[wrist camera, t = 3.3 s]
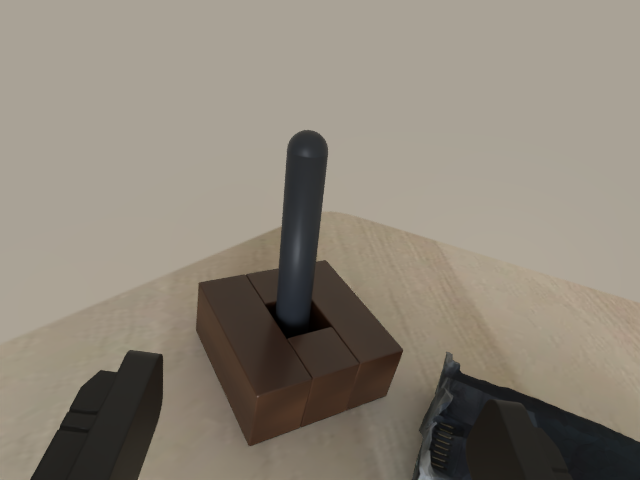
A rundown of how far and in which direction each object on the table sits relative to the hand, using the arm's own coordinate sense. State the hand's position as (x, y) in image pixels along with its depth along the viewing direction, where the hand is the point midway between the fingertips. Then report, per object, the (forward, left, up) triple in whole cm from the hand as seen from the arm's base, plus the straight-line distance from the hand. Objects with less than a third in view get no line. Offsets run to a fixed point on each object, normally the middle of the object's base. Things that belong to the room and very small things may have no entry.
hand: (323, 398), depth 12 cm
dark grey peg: (+5, +10, -10) cm, 15 cm away
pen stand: (+5, +10, -10) cm, 15 cm away
